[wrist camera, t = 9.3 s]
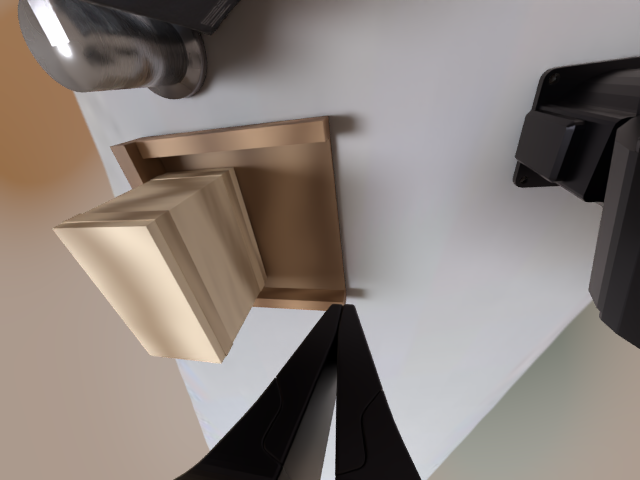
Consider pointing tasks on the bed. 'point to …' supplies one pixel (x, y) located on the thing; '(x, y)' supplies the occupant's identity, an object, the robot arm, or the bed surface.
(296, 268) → the bay
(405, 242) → the bed surface
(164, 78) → the flanged metal cylinder
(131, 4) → the small box
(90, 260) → the pale wooden box
